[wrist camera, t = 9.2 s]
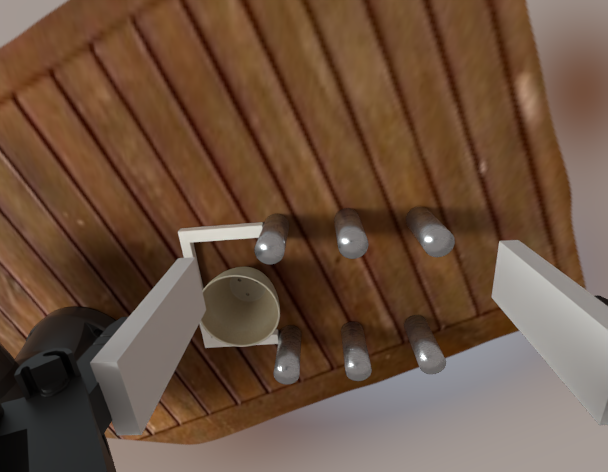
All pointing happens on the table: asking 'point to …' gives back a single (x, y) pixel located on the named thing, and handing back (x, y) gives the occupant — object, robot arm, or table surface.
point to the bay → (216, 234)
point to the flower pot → (240, 307)
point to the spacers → (353, 339)
